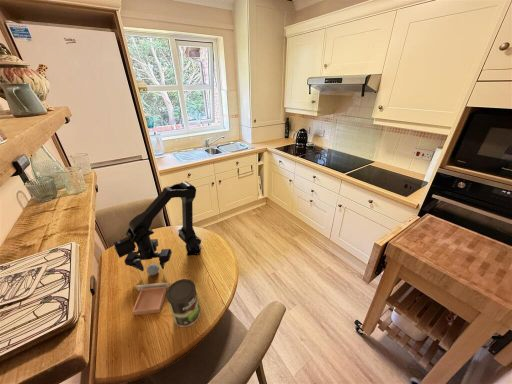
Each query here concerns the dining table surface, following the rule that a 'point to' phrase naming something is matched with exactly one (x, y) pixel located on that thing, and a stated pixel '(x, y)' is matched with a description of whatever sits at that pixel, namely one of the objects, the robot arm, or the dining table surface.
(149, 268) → the ball
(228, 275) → the dining table surface
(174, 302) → the coffee can
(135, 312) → the dish
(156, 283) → the wall
